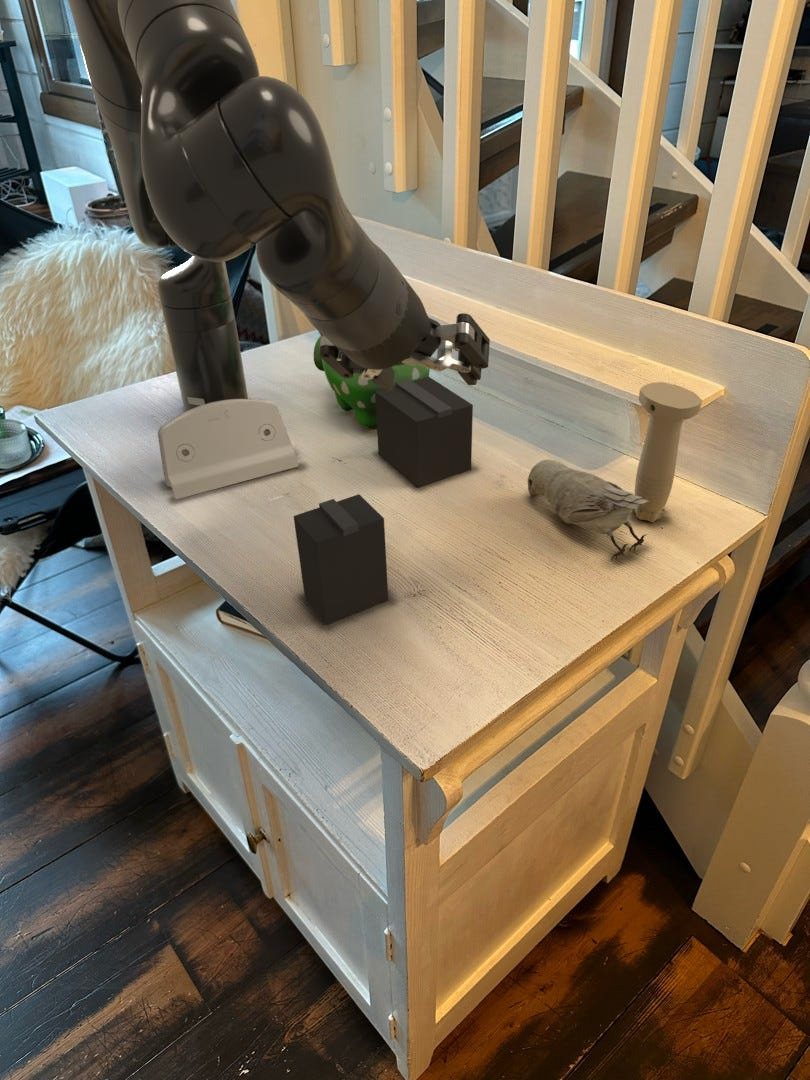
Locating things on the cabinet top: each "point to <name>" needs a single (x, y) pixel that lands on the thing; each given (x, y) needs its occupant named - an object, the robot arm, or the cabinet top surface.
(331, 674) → the cabinet top surface
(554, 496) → the decorative bird
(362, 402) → the piggy bank
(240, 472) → the white wall mount bracket
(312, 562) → the black box
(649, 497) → the handle
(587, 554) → the cabinet top surface
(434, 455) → the black taped box
